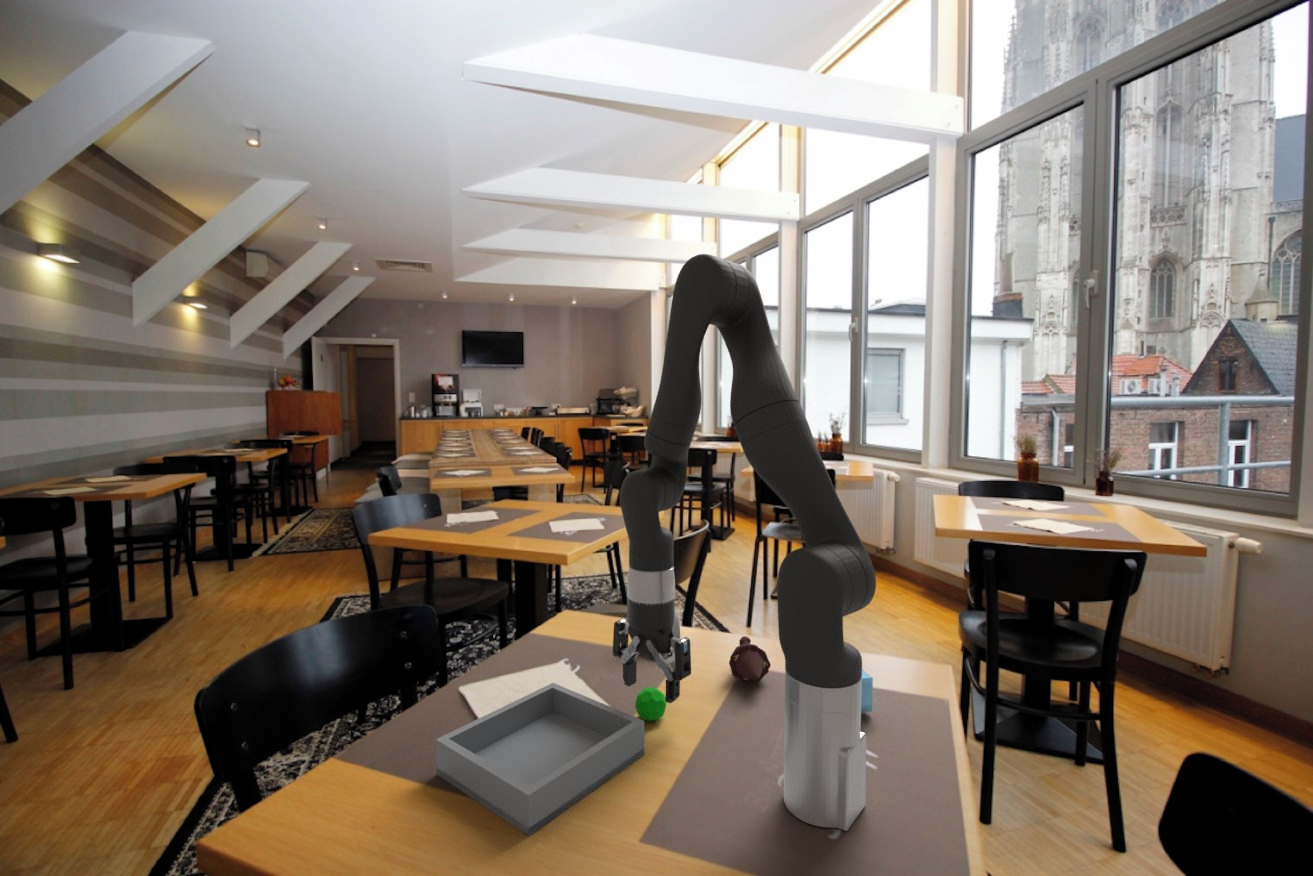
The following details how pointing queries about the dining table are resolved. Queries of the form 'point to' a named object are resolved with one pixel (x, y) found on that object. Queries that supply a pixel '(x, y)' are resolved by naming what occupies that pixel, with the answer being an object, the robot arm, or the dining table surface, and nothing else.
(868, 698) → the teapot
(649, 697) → the polyhedron
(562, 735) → the crate
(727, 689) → the dining table surface
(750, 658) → the icecream
